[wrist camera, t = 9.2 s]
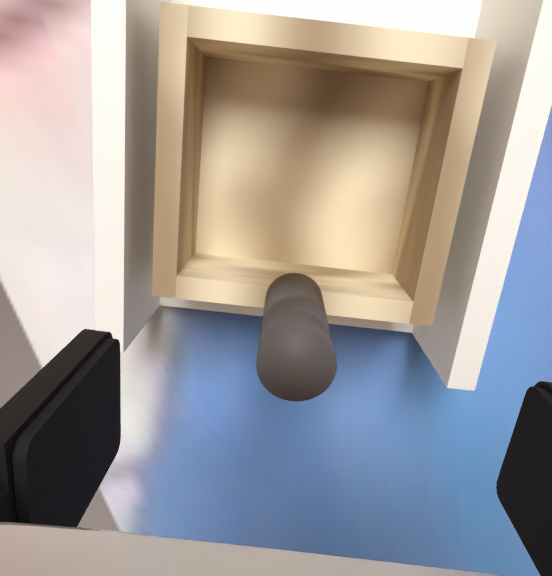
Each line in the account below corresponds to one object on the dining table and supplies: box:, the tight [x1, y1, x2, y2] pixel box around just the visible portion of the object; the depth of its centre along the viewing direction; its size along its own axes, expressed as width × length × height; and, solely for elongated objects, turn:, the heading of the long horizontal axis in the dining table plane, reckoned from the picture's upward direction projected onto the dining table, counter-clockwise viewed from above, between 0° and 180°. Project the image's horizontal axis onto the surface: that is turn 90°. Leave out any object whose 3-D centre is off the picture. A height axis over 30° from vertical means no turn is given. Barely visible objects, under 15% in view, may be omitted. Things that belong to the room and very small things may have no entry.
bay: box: [91, 0, 552, 391], centre depth 19 cm, size 16×28×7 cm, turn 174°
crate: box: [152, 2, 497, 401], centre depth 18 cm, size 12×12×11 cm
